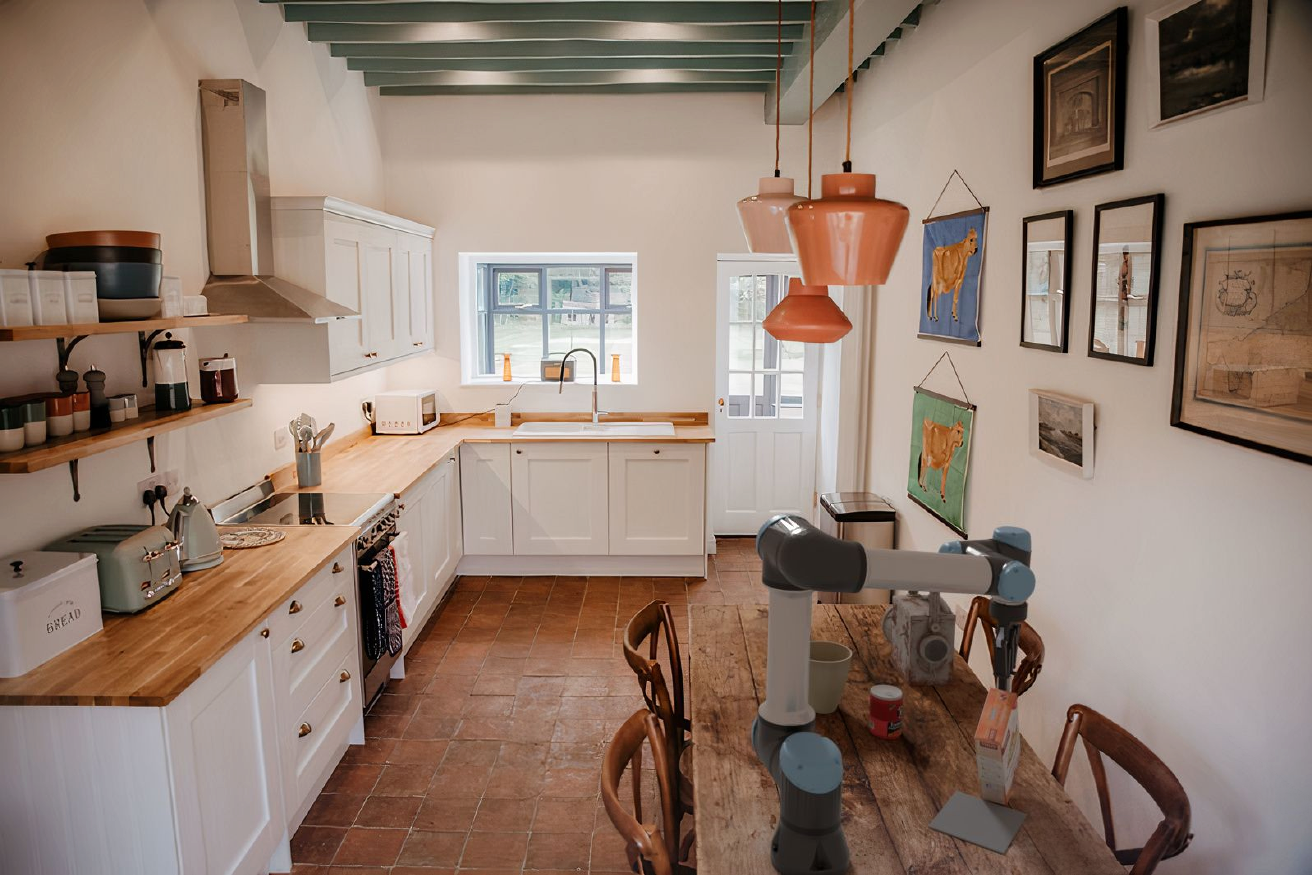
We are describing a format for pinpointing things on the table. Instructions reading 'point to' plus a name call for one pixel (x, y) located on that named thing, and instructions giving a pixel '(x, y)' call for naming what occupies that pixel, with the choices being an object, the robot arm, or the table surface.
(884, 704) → the canned food
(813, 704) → the plant pot
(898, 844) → the table surface
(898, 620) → the lantern
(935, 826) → the mat
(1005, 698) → the cracker box
